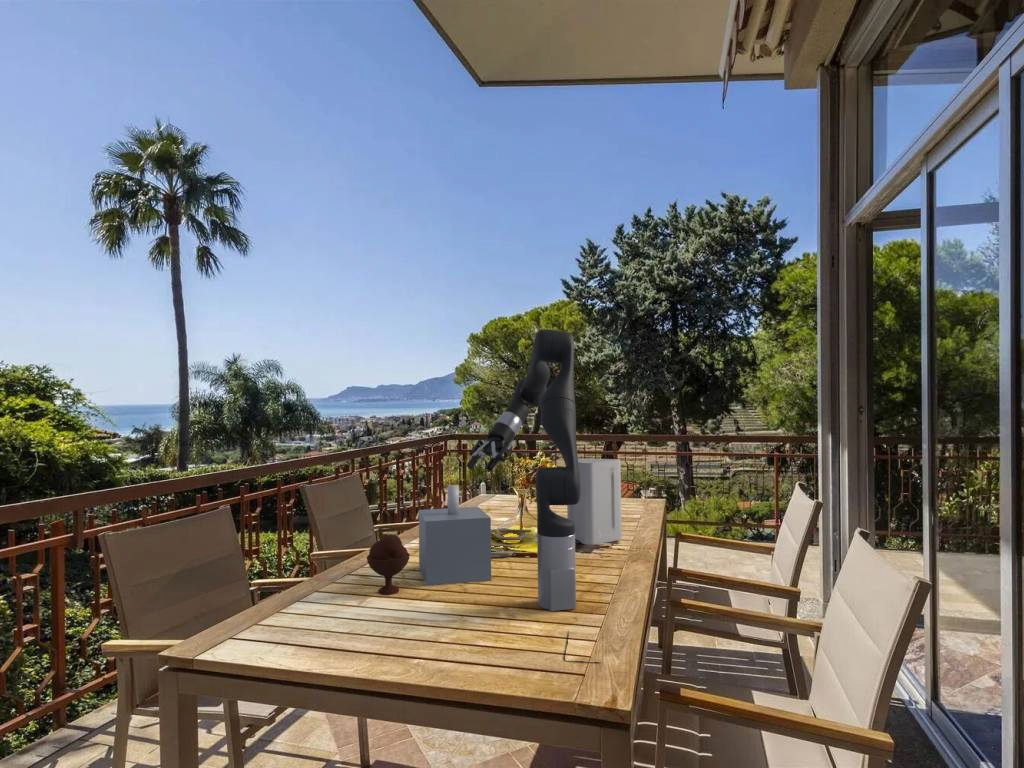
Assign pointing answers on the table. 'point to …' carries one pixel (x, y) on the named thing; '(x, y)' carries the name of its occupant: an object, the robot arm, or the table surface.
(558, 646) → the table surface
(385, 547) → the ice cream bowl
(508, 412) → the robot arm
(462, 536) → the cover
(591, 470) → the grey tall block
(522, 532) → the tableware set
